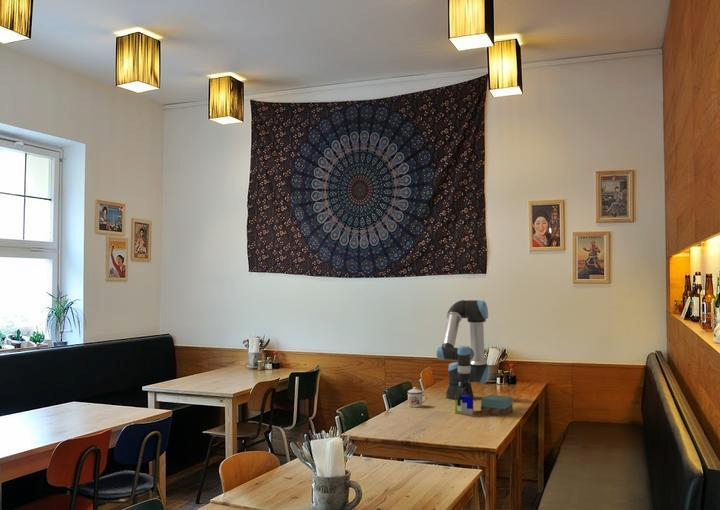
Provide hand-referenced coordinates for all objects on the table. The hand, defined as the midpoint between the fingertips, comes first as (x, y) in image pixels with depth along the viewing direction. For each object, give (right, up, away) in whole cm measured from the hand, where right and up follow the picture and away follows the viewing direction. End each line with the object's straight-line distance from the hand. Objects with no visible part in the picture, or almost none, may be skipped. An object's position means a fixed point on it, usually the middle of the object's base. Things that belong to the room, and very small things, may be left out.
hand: (464, 409), depth 388 cm
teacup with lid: (-26, -3, +19) cm, 32 cm away
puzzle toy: (0, -2, 0) cm, 2 cm away
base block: (+19, -2, 0) cm, 19 cm away
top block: (+19, +2, 0) cm, 19 cm away
